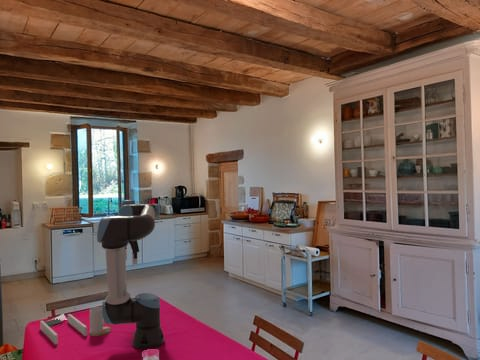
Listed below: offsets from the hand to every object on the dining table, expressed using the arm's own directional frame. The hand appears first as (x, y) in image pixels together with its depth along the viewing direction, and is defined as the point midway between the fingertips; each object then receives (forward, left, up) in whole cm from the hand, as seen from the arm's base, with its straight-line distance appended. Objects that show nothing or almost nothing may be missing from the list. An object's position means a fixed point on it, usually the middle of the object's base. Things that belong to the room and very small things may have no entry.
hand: (129, 262), depth 220 cm
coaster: (-10, +22, -32) cm, 40 cm away
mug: (-10, +22, -31) cm, 40 cm away
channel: (+3, +36, -32) cm, 48 cm away
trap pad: (+21, +36, -32) cm, 53 cm away
